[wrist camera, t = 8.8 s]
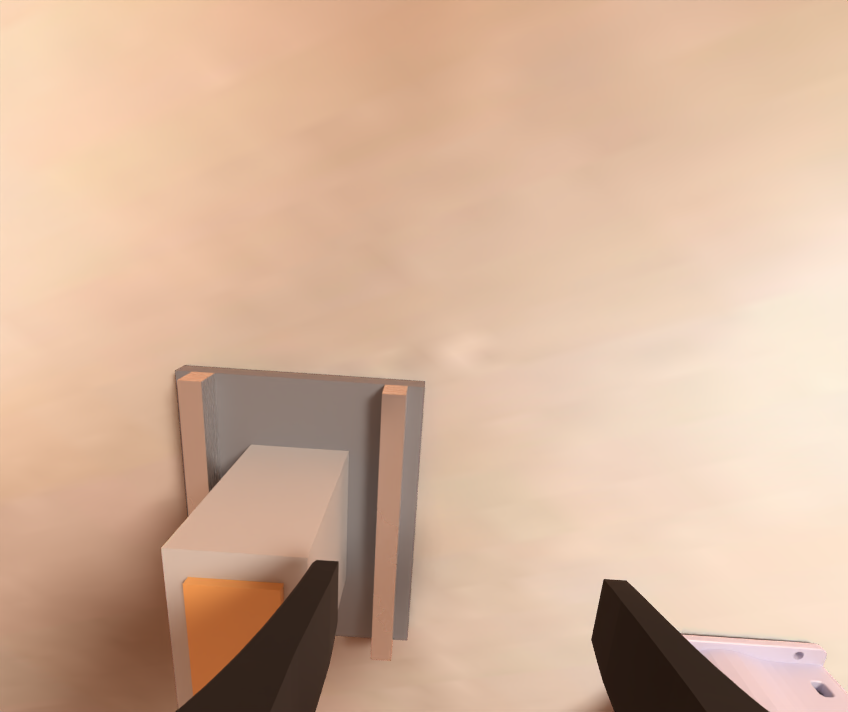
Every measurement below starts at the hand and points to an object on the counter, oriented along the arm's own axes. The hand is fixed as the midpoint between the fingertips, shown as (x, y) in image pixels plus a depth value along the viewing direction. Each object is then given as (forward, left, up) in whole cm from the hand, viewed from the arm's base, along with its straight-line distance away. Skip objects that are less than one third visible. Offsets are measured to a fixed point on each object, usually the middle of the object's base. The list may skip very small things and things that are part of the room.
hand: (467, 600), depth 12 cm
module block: (+7, +4, -9) cm, 12 cm away
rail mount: (+7, +4, -9) cm, 12 cm away
